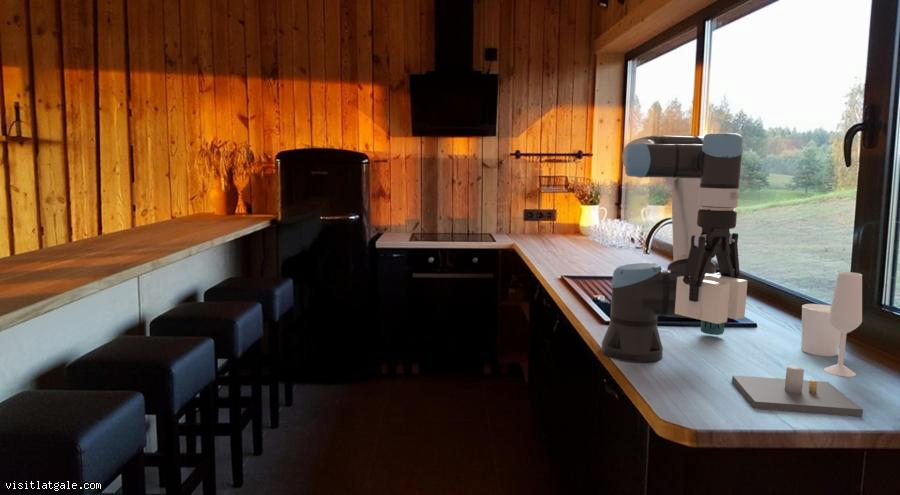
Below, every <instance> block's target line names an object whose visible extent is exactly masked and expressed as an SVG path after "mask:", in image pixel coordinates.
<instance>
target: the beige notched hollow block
mask: <svg viewBox="0 0 900 495" xmlns="http://www.w3.org/2000/svg"><path fill="white" fill-rule="evenodd" d="M683 277H684V276H681V277H677V288H676V302H675V314H678V315H682V316H686V317H691V318H690V319H694V318H695V319H696V320H700V321H701V320H703V321H707V322H712V323H716V324H720V323H724V322H725V323H727V322H728V319H731V320H740V319H744V318H745V317H746V316H745V314H746V305H747V293H748V292H747V291H748V280H747V279H744V278H743V279H741V278H738V279H737V278H731V277H725V276H719V275H714V274H708V273H706V274H705V277H704V280H703V282H702V285H701V286H704V293H703V306H702V318H698V317H693V316H689V315H688V307H689V289H690V285H688V284H685V283H684V282H683ZM697 280H698V279H697ZM725 323H724V324H725Z"/></svg>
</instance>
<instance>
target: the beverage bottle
mask: <svg viewBox="0 0 900 495" xmlns="http://www.w3.org/2000/svg"><path fill="white" fill-rule="evenodd" d="M718 272H719V273H720V270H719V267H716V273H718ZM725 325H726V322H724V323H720V324H716V323H712V322H707V321H703V320H700V332H701V333H703V334H706V335H713V336H720V335H723V334H724V332H725Z"/></svg>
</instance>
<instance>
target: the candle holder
mask: <svg viewBox="0 0 900 495" xmlns="http://www.w3.org/2000/svg"><path fill="white" fill-rule="evenodd" d="M830 309H831V305H829V304H821V303H820V304H819V303H806V304H802V305H801V336H800V337H801V340H800V346H801V347H800V349H801V351H802V352H803V353H806V354H809V355H813V356H817V357H828V358H829V357H830V358H831V357H836V356H837V354H838V353H839V346H840V336H841V332H840V331H838V330H837V329H836V328H835V327H834V326H833V325H832V323H831V322H830V320H829V314H830Z"/></svg>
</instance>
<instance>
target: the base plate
mask: <svg viewBox="0 0 900 495" xmlns="http://www.w3.org/2000/svg"><path fill="white" fill-rule="evenodd" d="M804 375H805V369H804V368H803V367H801V366H796V365H787V366H786V372H785V378H776V377H763V376H762V377H761V376H747V375H734V374H733V375H732V377H731V383H732V384H733V385H734V386H735V387H736V389H737V390H738V391H739V392H740V393H741V394H742V395H743V397H744V398H745V399H746V400H747V402H748V403H749V404H750V405H751V406H752V408H754V410H755V409H756V410H767V411H768V410H770V411H771V410H772V411H782V412H795V413H810V414H821V415H822V414H823V415H835V416H837V415H839V416H850V417H860V418H861V417H863V414H864V413H863V412H864V409H863V408H862V407H861V406H860V405H858V404H857V403H855V402H854V401H853V400H852V399H850V398H849V397H848V396H846V394H844V393H843V392H842V391H841V390H839V389H838V388H837V387H835V386H834V385H832V384H831V383H830V382H828V381H821V380H820V381H819V380H816V379H815V380H814V379H810V380H805V379H804Z"/></svg>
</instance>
